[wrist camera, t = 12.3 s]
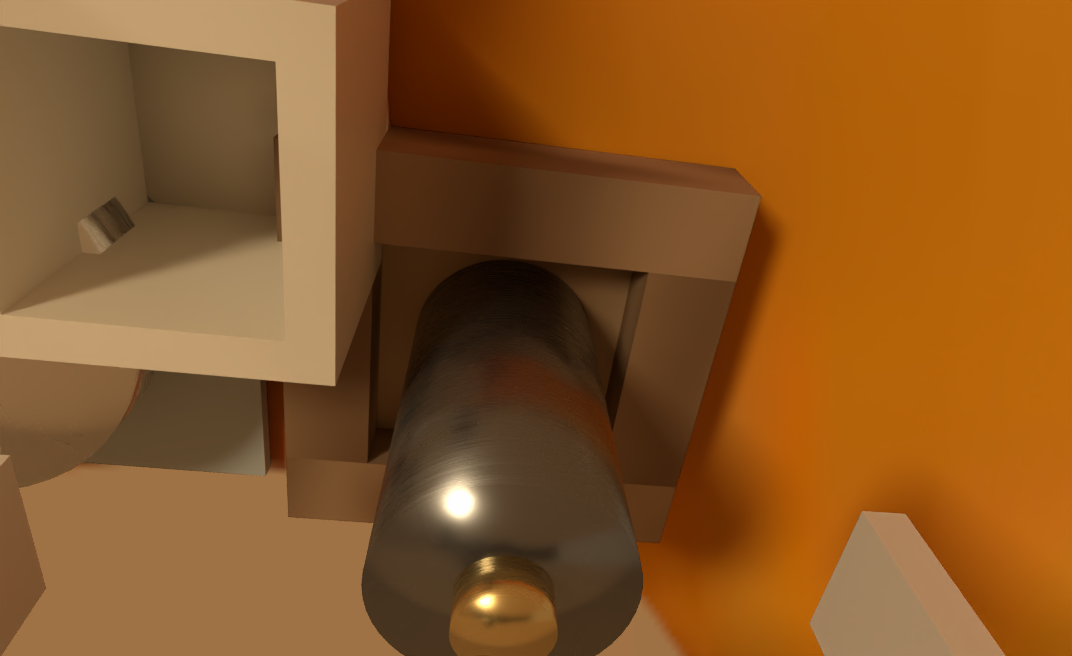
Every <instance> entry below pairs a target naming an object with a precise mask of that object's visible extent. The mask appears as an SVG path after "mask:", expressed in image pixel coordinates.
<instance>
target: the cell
mask: <svg viewBox="0 0 1072 656" xmlns="http://www.w3.org/2000/svg"><path fill="white" fill-rule="evenodd" d="M642 589H643V573H642V568H641V563H640V558H639V553H638V549H637V544H636V539H635V535H634V530H633V526H632V521H631V516H630V512H629V507H628V502H627V498H626V493H625V489H624V484H623V479H622V475H621V470H620V465H619V461H618V456H617V452H616V447H615V442H614V438H613V433H612V428H611V424H610V419H609V415H608V410H607V405H606V401H605V396H604V391H603V387H602V382H601V378H600V373H599V368H598V364H597V359H596V354H595V350H594V345H593V341H592V336H591V331H590V327H589V322H588V318H587V315H586V312H585V309H584V307H583V305H582V303H581V301H580V299H579V298H578V297H577V295H576V294H575V292H574V291H573V290H572V289H571V288H570V287H569V286H568V285H567V284H566V283H565V282H564V281H563V280H561V279H560V278H559V277H558V276H556V275H554V274H553V273H551V272H549V271H548V270H546V269H543V268H541V267H539V266H536V265H533V264H530V263H526V262H521V261H515V260H492V261H485V262H480V263H476V264H473V265H470V266H467V267H465V268H463V269H461V270H459V271H457V272H455V273H453V274H452V275H450V276H449V277H447V278H446V279H445V280H443V281H442V282H441V283H440V284H439V285H438V286H437V287H436V288H435V289H434V290H433V291H432V292H431V294H430V295H429V297H428V298H427V300H426V301H425V303H424V305H423V307H422V309H421V312H420V315H419V318H418V322H417V326H416V331H415V336H414V340H413V345H412V349H411V354H410V358H409V363H408V368H407V372H406V377H405V381H404V386H403V390H402V395H401V400H400V404H399V409H398V413H397V418H396V423H395V427H394V432H393V436H392V441H391V445H390V450H389V455H388V459H387V464H386V468H385V473H384V477H383V482H382V487H381V491H380V496H379V500H378V505H377V510H376V514H375V519H374V523H373V528H372V533H371V537H370V542H369V547H368V551H367V556H366V560H365V565H364V569H363V577H362V595H363V601H364V605H365V608H366V611H367V613H368V615H369V617H370V620H371V622H372V623H373V625H374V626H375V628H376V629H377V631H378V632H379V633H380V634H381V636H383V638H384V639H385V640H386V641H387V642H388V643H389V644H390V645H391V646H392V647H394V648H395V649H396V650H397V651H399V652H400V653H401V654H403V655H404V656H596V655H597V654H599V653H600V652H602V651H603V650H604V649H606V648H607V647H608V646H609V645H611V644H612V643H613V642H614V641H615V640H616V639H617V638H618V637H619V636H620V635H621V634H622V633H623V631H624V630H625V629H626V627H627V626H628V625H629V623H630V621H631V620H632V618H633V616H634V615H635V613H636V610H637V608H638V605H639V603H640V600H641V594H642Z"/></svg>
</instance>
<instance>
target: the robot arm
mask: <svg viewBox="0 0 1072 656" xmlns="http://www.w3.org/2000/svg"><path fill="white" fill-rule="evenodd" d="M45 589H46V586H45V583H44V579H43V575H42V572H41V568H40V564H39V561H38V557H37V553H36V550H35V546H34V542H33V538H32V535H31V531H30V527H29V524H28V520H27V516H26V513H25V509H24V505H23V501H22V498H21V495H20V490H19V487H18V483H17V479H16V476H15V472H14V468H13V464H12V461H11V457H10V455H0V656H1V655H2V654H3V652H4V651H5V649H6V648H7V646H8V645H9V643H10V642H11V640H12V639H13V637H14V636H15V634H16V633H17V631H18V630H19V628H20V627H21V625H22V624H23V622H24V621H25V619H26V618H27V616H28V615H29V613H30V612H31V610H32V608H33V607H34V606H35V604H36V603H37V601H38V600H39V598H40V597H41V595H42V594H43V592H44V590H45ZM810 625H811V627H812V630H813V632H814V634H815V636H816V638H817V641H818V643H819V645H820V647H821V649H822V651H823V654H824V656H1005V654H1004V653H1003V652H1002V650H1001V649H1000V647H999V646H998V644H997V643H996V642H995V640H994V639H993V637H992V636H991V635H990V633H989V632H988V630H987V629H986V627H985V626H984V625H983V623H982V622H981V620H980V619H979V618H978V616H977V615H976V613H975V612H974V610H973V609H972V608H971V606H970V605H969V603H968V602H967V601H966V599H965V598H964V596H963V595H962V593H961V592H960V591H959V589H958V588H957V586H956V585H955V583H954V582H953V581H952V579H951V578H950V576H949V575H948V574H947V572H946V571H945V569H944V568H943V566H942V565H941V564H940V562H939V561H938V559H937V558H936V557H935V555H934V554H933V552H932V551H931V549H930V548H929V547H928V545H927V544H926V542H925V541H924V540H923V538H922V537H921V535H920V534H919V532H918V531H917V530H916V528H915V527H914V525H913V524H912V522H911V521H910V520H909V518H908V517H907V515H906V514H900V513H885V512H869V511H862V513H861V515H860V517H859V519H858V521H857V523H856V526H855V528H854V530H853V532H852V534H851V536H850V538H849V540H848V543H847V545H846V547H845V549H844V551H843V553H842V555H841V558H840V560H839V562H838V564H837V566H836V568H835V570H834V572H833V575H832V577H831V579H830V581H829V583H828V585H827V587H826V589H825V592H824V594H823V596H822V598H821V600H820V602H819V604H818V607H817V609H816V611H815V613H814V615H813V617H812V619H811V621H810Z"/></svg>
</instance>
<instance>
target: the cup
mask: <svg viewBox="0 0 1072 656" xmlns="http://www.w3.org/2000/svg"><path fill="white" fill-rule="evenodd" d="M390 9H391V0H0V357H10V358H21V359H32V360H44V361H55V362H66V363H78V364H89V365H100V366H112V367H123V368H134V369H146V370H157V371H168V372H180V373H191V374H202V375H214V376H225V377H236V378H248V379H259V380H270V381H282V382H293V383H304V384H316V385H327V386H335V385H336V383H337V380H338V377H339V375H340V372H341V369H342V366H343V364H344V361H345V358H346V356H347V353H348V350H349V347H350V345H351V342H352V339H353V337H354V334H355V331H356V328H357V326H358V323H359V320H360V318H361V315H362V312H363V309H364V307H365V304H366V301H367V299H368V296H369V293H370V290H371V288H372V285H373V282H374V279H375V277H376V274H377V271H378V269H379V266H380V263H381V260H382V244H379V243H374V212H375V176H376V150H377V148H378V146H379V144H380V143H381V141H382V139H383V137H384V136H385V134H386V132H387V130H388V129H389V127H390V108H389V102H388V67H389V38H390ZM277 134H278V142H279V170H280V197H281V225H282V242H279V241H277V218H276V192H275V167H274V142H273V137H275V136H276V135H277ZM147 195H148V196H149V197H150V198H151V199H152V200H153V201H154V202H155V203H152V202H148V199H147ZM114 197H116V198H117V200H118V201H119V202H120V203H121V205H122V206H123V208H124V209H125V211H126V212H127V214H128V215H129V217H130V219H131V220H132V222H133V223H134V225H135V226H134V227H133V228H132V229H131V230H129V231H128V232H127V233H126V234H124V235H123V236H122V237H121V238H119V239H118V240H117V241H116V242H115V243H113V244H112V245H111V246H110V247H108V248H107V249H106V250H105V251H103V252H102V253H101V254H92V253H83V252H82V249H81V243H80V237H79V232H78V226H77V222H79V221H80V220H82V219H83V218H85V217H86V216H88V215H89V214H90V213H92V212H93V211H95V210H96V209H98V208H99V207H101V206H102V205H103V204H105V203H106V202H108V201H109V200H111V199H112V198H114Z"/></svg>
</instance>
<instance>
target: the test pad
mask: <svg viewBox="0 0 1072 656" xmlns="http://www.w3.org/2000/svg"><path fill="white" fill-rule="evenodd" d="M77 226H78V232H79V237H80V243H81V249H82V252H83V253H92V254H101V253H102V252H103V251H105V250H106V249H107V248H108V247H110V246H111V245H112V244H113V243H115V242H116V241H117V240H118V239H119V238H121V237H122V236H123V235H124V234H126V233H127V232H128V231H129V230H131V229H132V228H133V227H134V226H135V225H134V223H133V222H132V220H131V219H130V217H129V215H128V214H127V212H126V211H125V209H124V208H123V206H122V205H121V203H120V202H119V201H118V200H117V198H116V197H114V198H112V199H111V200H109V201H108V202H106V203H105V204H103V205H102V206H101V207H99V208H98V209H96V210H95V211H93V212H92V213H90V214H89V215H88V216H86V217H85V218H83V219H82V220H80V221H79V222H77ZM155 372H156V370H146V369H134V368H123V367H112V366H100V365H89V364H78V363H66V362H55V361H44V360H32V359H21V358H10V357H0V455H10V457H11V461H12V464H13V468H14V472H15V476H16V479H17V483H18V487H19V488H20V487H25V486H30V485H33V484H36V483H39V482H43V481H46V480H49V479H52V478H54V477H56V476H58V475H61V474H63V473H65V472H67V471H69V470H71V469H73V468H74V467H76V466H77V465H79V464H80V463H82V462H83V461H85V460H86V459H88V458H89V457H91V456H92V455H93V454H94V453H95V452H96V451H97V450H98V449H99V448H100V447H101V446H102V445H103V444H104V443H105V442H106V441H107V440H108V439H109V437H110V436H111V435H112V433H113V432H114V431H115V430H116V428H117V427H118V426H119V424H120V423H121V422H122V421H123V419H124V418H125V417H126V415H127V414H128V413H129V411H130V410H131V409H132V408H133V406H134V405H135V404H136V402H137V401H138V400H139V398H140V397H141V396H142V394H143V393H144V392H145V390H146V389H147V388H148V386H149V384H150V382H151V380H152V378H153V376H154V374H155Z"/></svg>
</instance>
